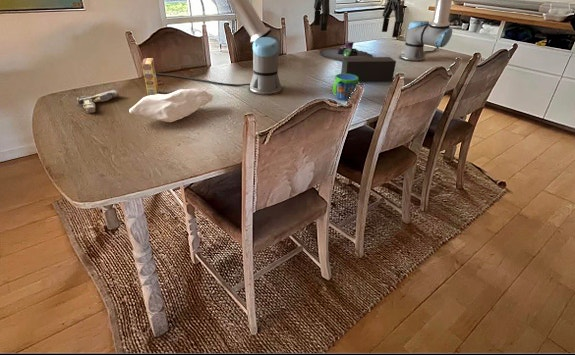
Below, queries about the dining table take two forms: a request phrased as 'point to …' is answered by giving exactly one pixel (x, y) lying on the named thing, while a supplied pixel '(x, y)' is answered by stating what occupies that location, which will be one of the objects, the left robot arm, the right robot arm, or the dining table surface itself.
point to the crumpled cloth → (171, 104)
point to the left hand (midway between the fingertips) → (319, 27)
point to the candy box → (150, 76)
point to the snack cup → (344, 85)
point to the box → (369, 68)
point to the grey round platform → (344, 52)
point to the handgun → (95, 100)
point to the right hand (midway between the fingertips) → (389, 34)
